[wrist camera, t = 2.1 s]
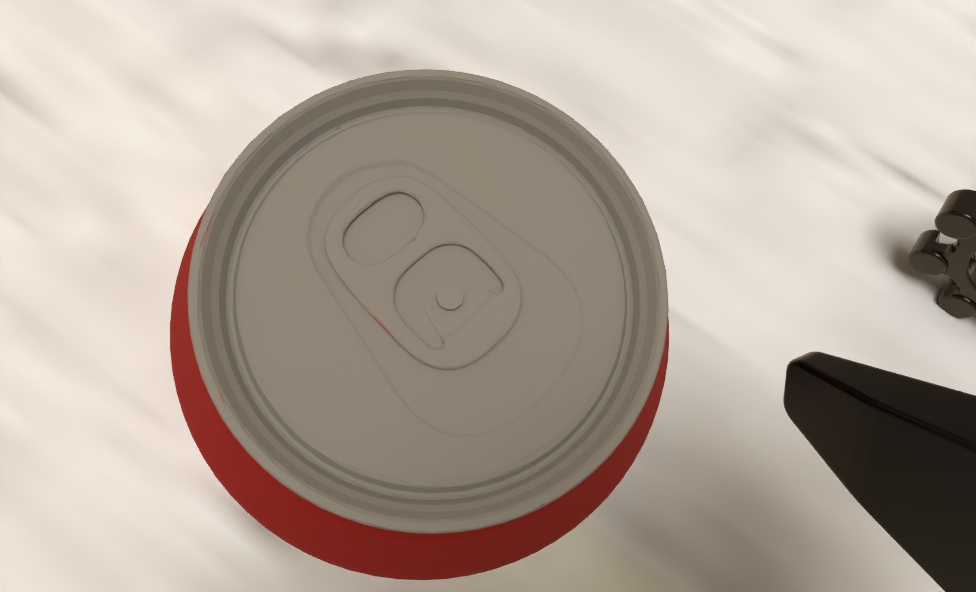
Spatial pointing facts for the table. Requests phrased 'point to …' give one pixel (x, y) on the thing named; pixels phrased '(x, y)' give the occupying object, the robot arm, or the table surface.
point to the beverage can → (421, 325)
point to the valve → (952, 253)
